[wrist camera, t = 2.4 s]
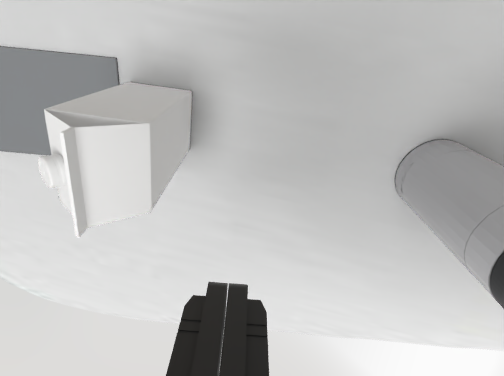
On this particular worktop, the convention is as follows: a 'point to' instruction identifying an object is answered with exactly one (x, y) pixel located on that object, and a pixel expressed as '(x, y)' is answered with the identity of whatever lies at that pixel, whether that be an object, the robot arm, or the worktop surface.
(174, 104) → the milk carton
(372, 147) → the worktop surface
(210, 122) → the worktop surface
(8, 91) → the mat
